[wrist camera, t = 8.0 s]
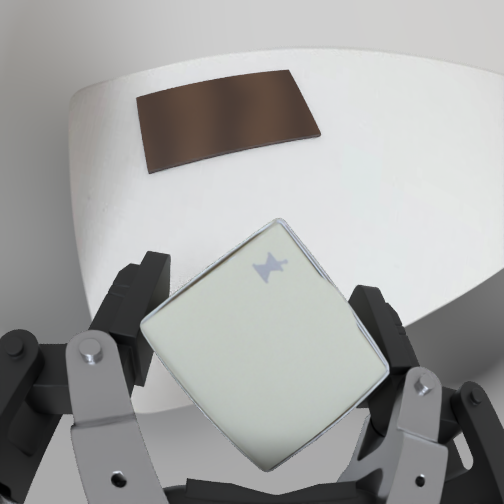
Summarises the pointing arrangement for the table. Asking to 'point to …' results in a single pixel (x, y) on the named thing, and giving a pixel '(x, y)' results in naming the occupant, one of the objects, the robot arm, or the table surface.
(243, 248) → the box
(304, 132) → the walnut board
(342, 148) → the table surface
